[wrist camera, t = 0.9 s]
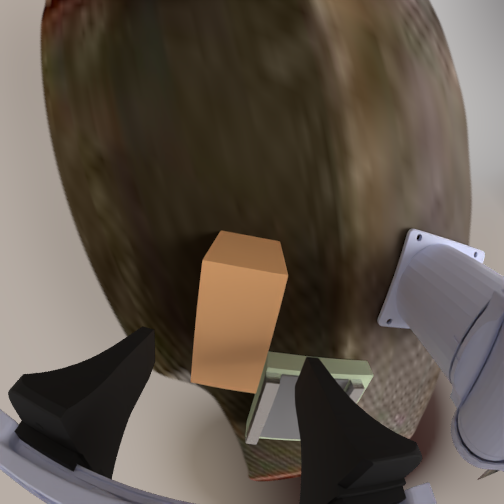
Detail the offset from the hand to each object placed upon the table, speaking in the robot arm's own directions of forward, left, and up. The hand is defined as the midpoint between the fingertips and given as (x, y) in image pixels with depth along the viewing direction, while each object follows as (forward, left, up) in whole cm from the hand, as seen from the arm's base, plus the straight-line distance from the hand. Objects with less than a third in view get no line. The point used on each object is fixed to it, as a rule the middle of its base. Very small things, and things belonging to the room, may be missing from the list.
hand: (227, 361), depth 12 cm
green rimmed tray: (-8, +10, -8) cm, 15 cm away
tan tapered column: (0, 0, -8) cm, 8 cm away
